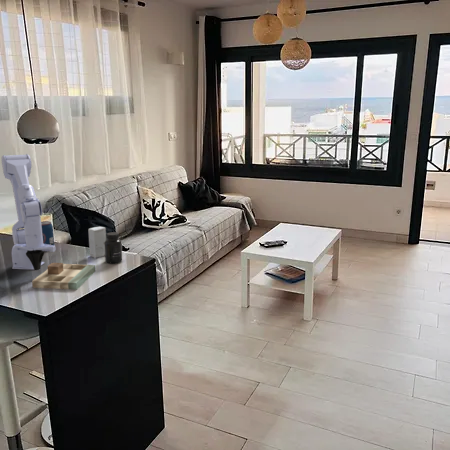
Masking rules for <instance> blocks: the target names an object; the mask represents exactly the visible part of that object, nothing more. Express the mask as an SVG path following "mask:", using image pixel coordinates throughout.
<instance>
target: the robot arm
mask: <svg viewBox="0 0 450 450" xmlns="http://www.w3.org/2000/svg"><path fill="white" fill-rule="evenodd" d="M31 159H32V158H31V155H29V154H28V153H26V154H12V155H10V154H8V155H5V154H4V155H1V166H2V172H3V173H2V174H3V176H4V178H5V179H8V180H9V181H10V184H11V185H12V192H13V197H14V198H13V199H14V203H15V208H16V214H17V219H18V220H17V222H16V223H14V224H13V225H12V227H11V231H12V233H11V235H12V241H13V244H14V245H13V246H12V247H11V248H12V249H11V261H12V262H11V263H12V269H13V270H31V271H33V270H34V271H39V270H41V267H42V265H44V264H45V261H42V260H43V258H44V254H45V253H46V252H50V253H55V252H56V244H55V245H48V244H43V236H42V226H41V222H42V218H41V217H42V215H43V207H42V204H41V201H40V199H39V198H38V197H37V195H36V191H35V187H34V186H33V185H31V184H30V181H29V177H30V176H31V173H32V171H31V170H32V167H33V166H32V160H31Z"/></svg>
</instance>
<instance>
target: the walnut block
mask: <svg viewBox="0 0 450 450" xmlns="http://www.w3.org/2000/svg"><path fill="white" fill-rule="evenodd" d="M63 264H64V263H63V262H51V263H50V264H49V265H47V269H48V274H58V275H59V274H60V273H61V272H62V271H64V270H63Z"/></svg>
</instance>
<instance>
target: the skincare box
mask: <svg viewBox="0 0 450 450" xmlns="http://www.w3.org/2000/svg"><path fill="white" fill-rule="evenodd" d="M106 230H107V229H106V227H104V226H100V225H99V226H94V227H90V228H88V246H89V256H90V257H91V258H94V259H97V258H101V257H105V245H104V243H105V241H106V240H107V231H106Z"/></svg>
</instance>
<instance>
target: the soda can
mask: <svg viewBox="0 0 450 450" xmlns="http://www.w3.org/2000/svg"><path fill="white" fill-rule="evenodd" d="M41 226H42V236H43V244H48V245H55V246H56V244H55V235H54V234H55V233H54V225H53V224H52V221H47V220H46V221H44V220H43V221H41Z"/></svg>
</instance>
